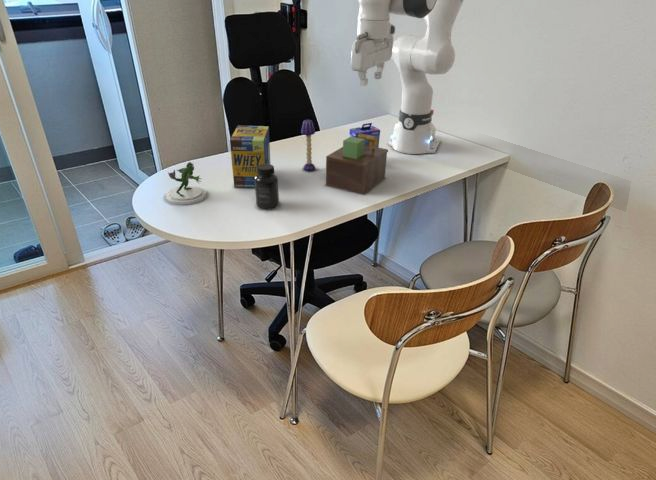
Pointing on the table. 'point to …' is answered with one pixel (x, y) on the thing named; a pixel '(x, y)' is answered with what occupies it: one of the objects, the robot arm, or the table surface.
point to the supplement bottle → (266, 187)
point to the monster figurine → (185, 188)
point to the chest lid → (369, 156)
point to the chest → (355, 175)
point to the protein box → (249, 153)
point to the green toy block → (353, 147)
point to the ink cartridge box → (368, 131)
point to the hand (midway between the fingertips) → (370, 81)
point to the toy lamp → (308, 143)
